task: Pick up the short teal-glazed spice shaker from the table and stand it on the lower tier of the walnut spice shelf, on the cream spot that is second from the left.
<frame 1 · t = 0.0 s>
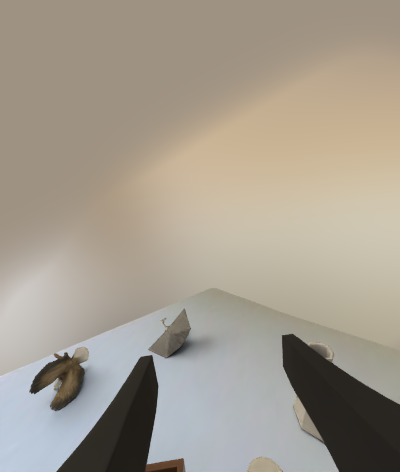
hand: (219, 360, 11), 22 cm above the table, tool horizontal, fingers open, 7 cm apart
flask: (322, 417, 27), on the table
eagle figurine: (66, 387, 37), on the table
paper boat: (174, 343, 46), on the table
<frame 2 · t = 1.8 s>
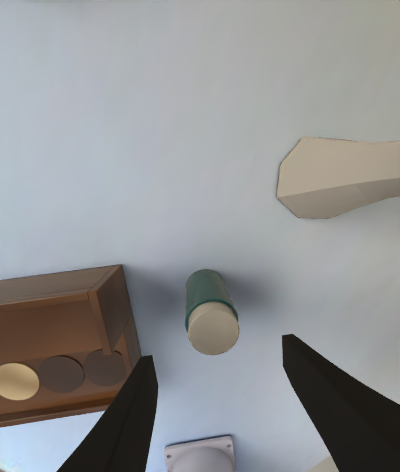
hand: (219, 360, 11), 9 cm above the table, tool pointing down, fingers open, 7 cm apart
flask: (312, 180, 18), on the table
spice shelf: (47, 338, 19), on the table
spice shaker: (205, 287, 19), on the table
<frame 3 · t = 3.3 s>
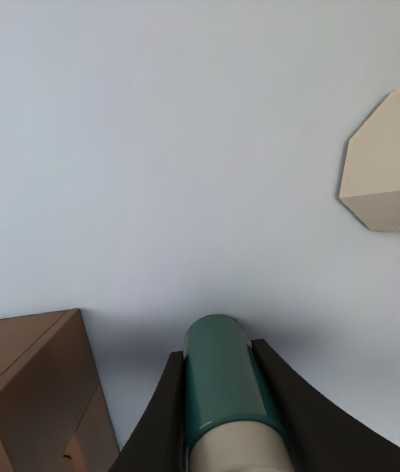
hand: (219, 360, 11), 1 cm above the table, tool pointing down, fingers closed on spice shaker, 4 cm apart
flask: (397, 168, 11), on the table
spice shaker: (215, 341, 12), on the table, touching gripper
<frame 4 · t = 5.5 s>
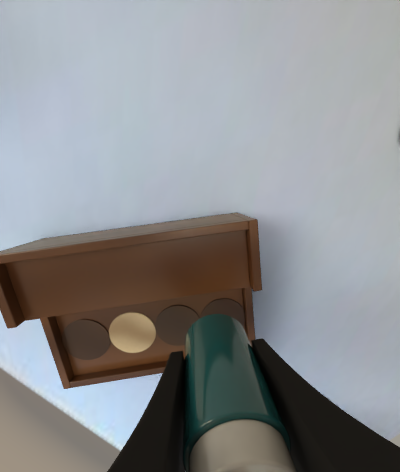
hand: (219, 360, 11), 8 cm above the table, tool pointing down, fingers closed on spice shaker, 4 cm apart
spice shelf: (154, 292, 18), on the table
spice shaker: (215, 340, 12), point 7 cm above the table, touching gripper
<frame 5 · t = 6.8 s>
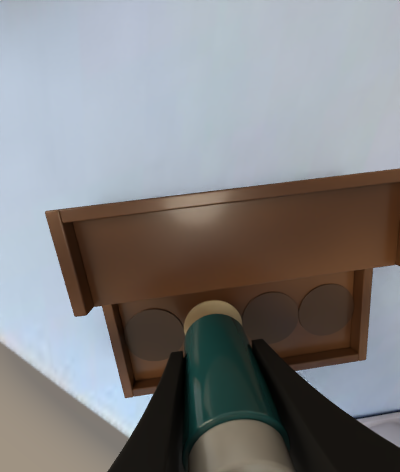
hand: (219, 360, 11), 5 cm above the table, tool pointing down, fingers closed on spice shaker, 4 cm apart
spice shelf: (232, 276, 15), on the table
spice shaker: (215, 340, 12), point 3 cm above the table, touching gripper
when the fingers open (3 cm above the table, at t = 7.7 s): spice shaker stays where it is, resting on spice shelf.
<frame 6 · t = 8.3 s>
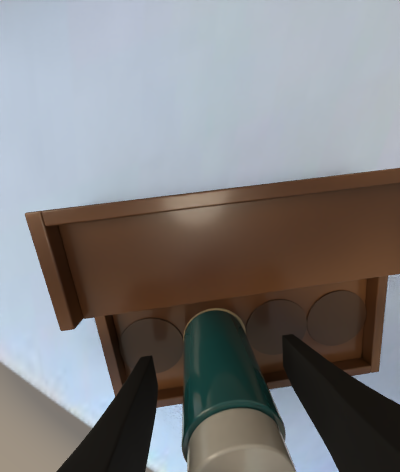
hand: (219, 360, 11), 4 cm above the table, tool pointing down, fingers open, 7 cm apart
spice shelf: (235, 282, 14), on the table
spice shaker: (214, 336, 12), point 2 cm above the table, touching spice shelf
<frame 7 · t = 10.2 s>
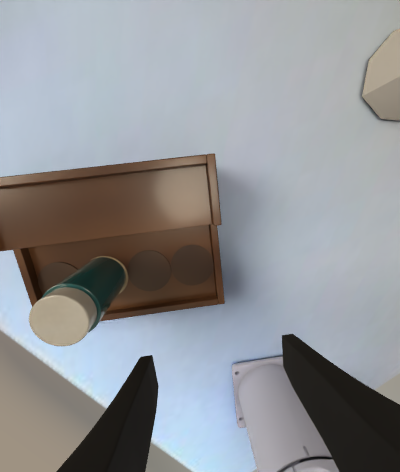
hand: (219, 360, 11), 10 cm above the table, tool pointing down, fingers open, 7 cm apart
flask: (395, 81, 18), on the table
spice shelf: (129, 242, 19), on the table
spice shaker: (104, 276, 18), point 2 cm above the table, touching spice shelf
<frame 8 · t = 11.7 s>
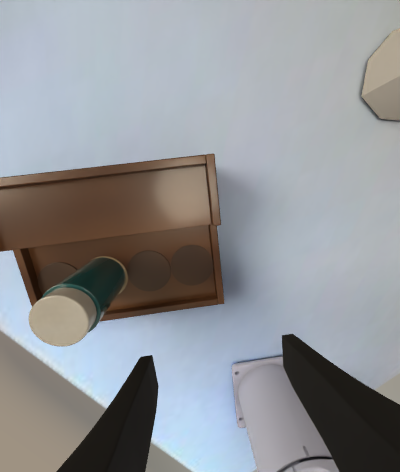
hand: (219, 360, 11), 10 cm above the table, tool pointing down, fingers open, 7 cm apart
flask: (395, 81, 18), on the table
spice shelf: (128, 242, 19), on the table
spice shaker: (104, 276, 18), point 2 cm above the table, touching spice shelf
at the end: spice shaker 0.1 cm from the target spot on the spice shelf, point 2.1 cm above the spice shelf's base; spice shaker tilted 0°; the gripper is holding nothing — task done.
